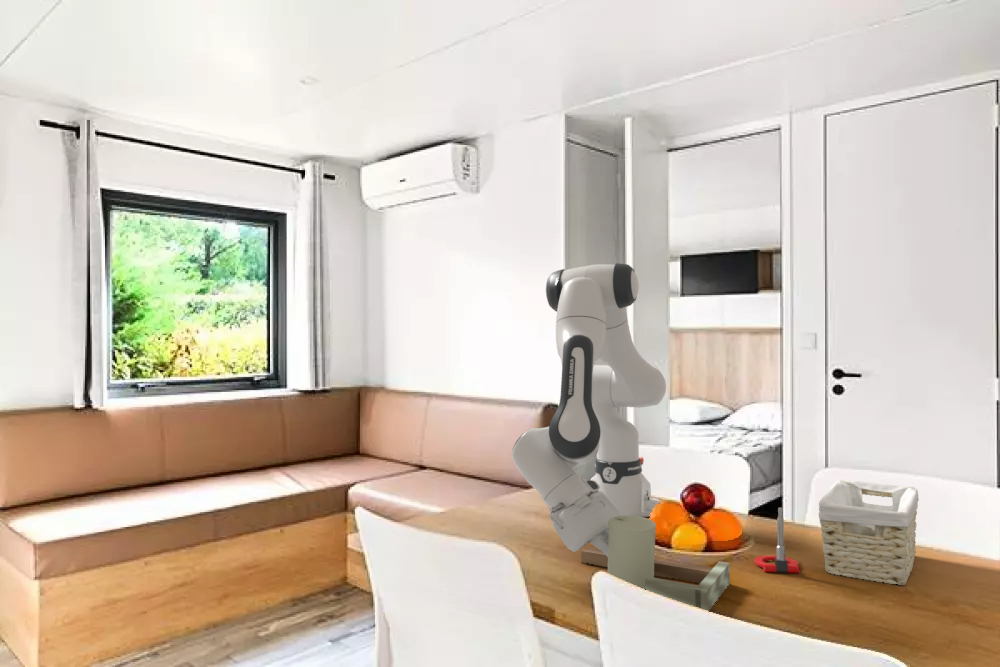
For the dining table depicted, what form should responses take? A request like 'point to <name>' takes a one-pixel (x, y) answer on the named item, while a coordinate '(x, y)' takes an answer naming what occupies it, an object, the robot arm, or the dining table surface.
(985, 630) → the dining table surface
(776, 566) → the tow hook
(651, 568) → the can
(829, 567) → the storage basket
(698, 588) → the rail stop
